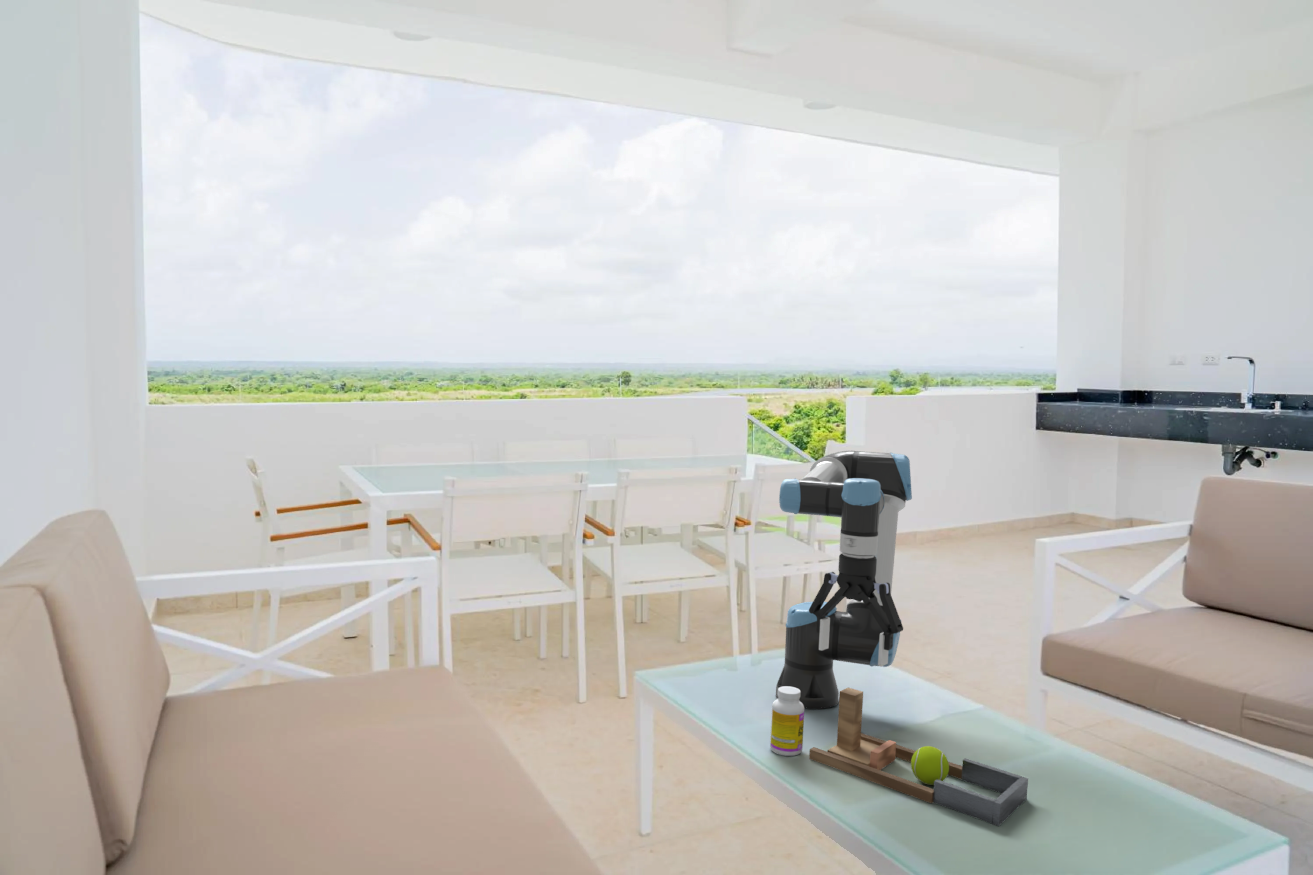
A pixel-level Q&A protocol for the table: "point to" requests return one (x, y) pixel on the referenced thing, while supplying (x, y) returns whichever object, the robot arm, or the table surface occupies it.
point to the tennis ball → (929, 765)
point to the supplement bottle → (787, 722)
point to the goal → (979, 804)
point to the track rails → (880, 776)
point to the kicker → (858, 734)
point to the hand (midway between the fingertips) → (852, 656)
